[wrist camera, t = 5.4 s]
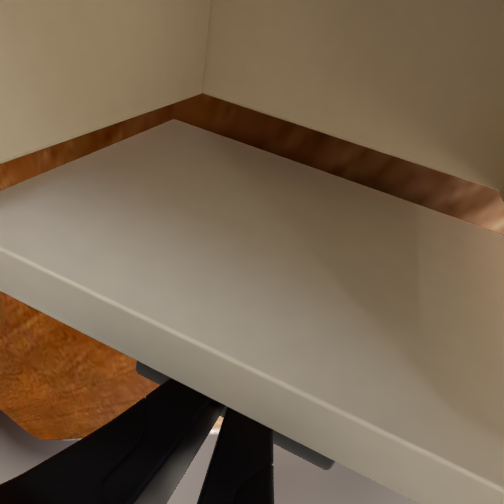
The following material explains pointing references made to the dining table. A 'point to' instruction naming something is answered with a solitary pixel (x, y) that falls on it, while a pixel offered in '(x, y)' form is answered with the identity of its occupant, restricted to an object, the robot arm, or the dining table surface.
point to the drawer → (275, 219)
